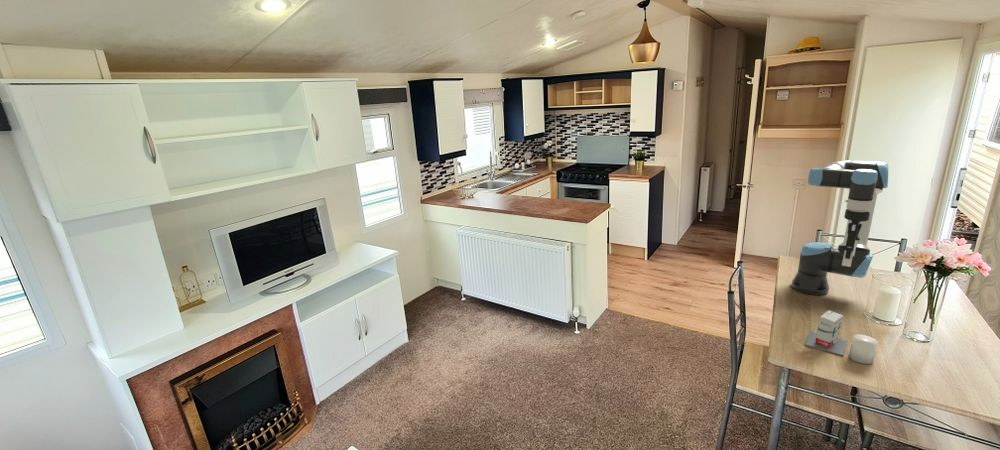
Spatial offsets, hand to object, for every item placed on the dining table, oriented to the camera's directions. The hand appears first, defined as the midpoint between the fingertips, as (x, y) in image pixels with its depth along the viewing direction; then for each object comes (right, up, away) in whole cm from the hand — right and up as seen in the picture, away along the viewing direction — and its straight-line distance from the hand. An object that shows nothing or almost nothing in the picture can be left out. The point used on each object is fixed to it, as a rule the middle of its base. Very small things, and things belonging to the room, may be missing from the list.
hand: (848, 260), depth 176 cm
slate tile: (-13, -32, -5) cm, 35 cm away
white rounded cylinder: (-7, -35, -15) cm, 39 cm away
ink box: (-12, -32, -5) cm, 35 cm away
